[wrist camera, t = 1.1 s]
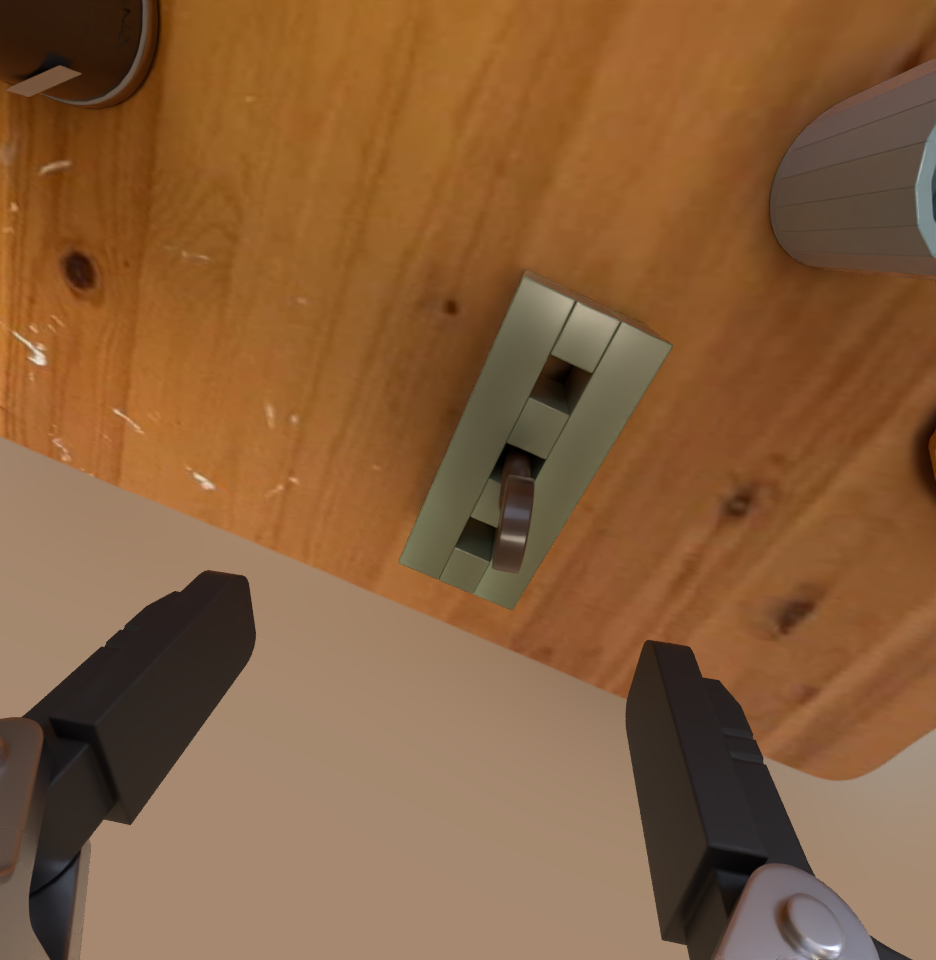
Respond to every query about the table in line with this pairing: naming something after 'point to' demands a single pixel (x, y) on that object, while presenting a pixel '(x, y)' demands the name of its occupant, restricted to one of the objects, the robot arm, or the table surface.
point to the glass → (864, 183)
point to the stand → (532, 432)
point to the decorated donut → (933, 451)
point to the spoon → (514, 510)
